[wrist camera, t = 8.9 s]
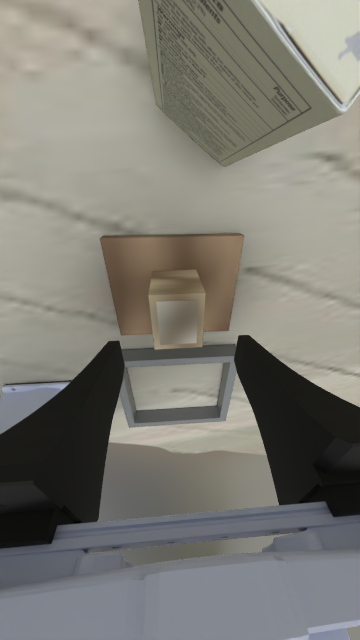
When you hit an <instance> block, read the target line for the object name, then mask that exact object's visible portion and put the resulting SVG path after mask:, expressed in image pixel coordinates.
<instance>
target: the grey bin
mask: <svg viewBox="0 0 360 640" xmlns="http://www.w3.org/2000/svg"><path fill="white" fill-rule="evenodd" d="M121 351H122V355H123V359H124V364H125V368H124V376H123V382H122V386H121V390H120V393H119V394H120V397H121V401H122V405H123V408H124V412H125V415H126V419H127V422H128V426H129V427H144V426H159V425H174V424H189V423H204V422H219V421H226V416H227V412H228V407H229V403H230V399H231V394H232V390H233V385H234V381H235V376H236V372H237V370H236V366H235V363H234V356H235V351H236V346H235V345H215V346H202V347H193V348H174V349H156V350H155V349H154V348H151V349H129V350H121ZM206 363H224V367H223V373H222V379H221V385H220V391H219V397H218V403H217V406H209V407H193V408H177V409H161V410H145V411H136V407H135V403H134V398H133V394H132V389H131V385H130V380H129V376H128V372H127V367H147V366H166V365H186V364H206Z"/></svg>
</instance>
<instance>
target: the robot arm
mask: <svg viewBox="0 0 360 640" xmlns="http://www.w3.org/2000/svg"><path fill="white" fill-rule="evenodd" d="M234 363H235V366H236V370H237V373H238V376H239V379H240V381H241V383H242V386H243V388H244V391H245V393H246V395H247V398H248V400H249V402H250V404H251V407H252V409H253V412H254V415H255V417H256V421H257V424H258V427H259V430H260V433H261V437H262V440H263V444H264V447H265V450H266V454H267V458H268V461H269V465H270V469H271V473H272V477H273V481H274V485H275V489H276V493H277V498H278V502H279V506H269V507H258V508H247V509H235V510H225V511H213V512H203V513H191V514H180V515H169V516H157V517H147V518H135V519H124V520H114V521H102V522H97V520H98V517H99V508H100V499H101V489H102V482H103V475H104V467H105V460H106V454H107V447H108V441H109V435H110V429H111V424H112V419H113V415H114V412H115V408H116V404H117V401H118V397H119V393H120V390H121V386H122V382H123V376H124V368H125V364H124V359H123V355H122V351H121V346H120V342H119V341H109V342H108V343H107V344H106V345H105V346H104V347H103V348H102V350H101V351H100V352H99V353H98V354H97V355H96V356H95V358H94V359H93V360H92V361H91V362H90V363H89V364H88V365H87V366H86V367H85V368H84V369H83V370H82V371H81V372H80V373H79V374H78V375H77V376H76V377H75V378H74V379H73V380H72V381H71V382H58V383H39V384H21V385H5V386H3V387H2V391H3V392H4V394H3V395H2V396H1V398H0V640H351V639H350V637H349V634H348V632H347V629H346V628H348V627H353V626H360V407H358V406H356V405H354V404H352V403H349V402H347V401H345V400H343V399H341V398H339V397H337V396H335V395H333V394H331V393H330V392H328V391H326V390H324V389H322V388H321V387H319V386H317V385H315V384H314V383H312V382H310V381H309V380H307V379H306V378H304V377H302V376H301V375H299V374H298V373H296V372H295V371H293V370H292V369H290V368H289V367H288V366H286V365H285V364H284V363H282V362H281V361H280V360H278V359H277V358H276V357H274V356H273V355H272V354H271V353H269V352H268V351H267V350H266V349H265V348H263V347H262V346H261V345H260V344H259V343H257V342H256V341H255V340H254V339H253V338H252V337H250V336H249V335H239V336H238V341H237V346H236V351H235V356H234ZM289 533H293V534H289ZM279 534H289V535H285V536H280V537H276V538H274V540H273V543H272V544H271V545H269V546H267V547H265V548H263V549H262V552H259V553H242V554H228V555H217V556H207V557H197V558H190V559H181V560H173V561H167V562H160V563H153V564H147V565H141V566H134V565H133V563H132V562H129V561H126V560H124V556H123V555H122V554H113V553H112V554H111V553H94V552H104V551H113V550H114V551H115V550H125V549H135V548H145V547H155V546H166V545H176V544H186V543H197V542H206V541H217V540H227V539H237V538H248V537H258V536H268V535H279Z"/></svg>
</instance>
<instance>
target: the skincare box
mask: <svg viewBox="0 0 360 640" xmlns="http://www.w3.org/2000/svg"><path fill="white" fill-rule="evenodd" d="M138 1H139V8H140V13H141V19H142V24H143V31H144V37H145V42H146V48H147V53H148V59H149V65H150V71H151V77H152V83H153V89H154V95H155V100H156V104H157V105H158V106H159V107H160V108H161V109H162V110H163V111H164V112H165V113H166V114H167V115H168V116H169V117H170V118H171V119H172V120H173V121H174V122H175V123H176V124H177V125H178V126H179V127H180V128H182V129H183V130H184V131H185V132H186V133H187V134H188V135H189V136H190V137H191V138H192V139H193V140H195V141H196V142H197V143H198V144H199V145H200V146H201V147H202V148H203V149H204V150H205V151H207V152H208V153H209V154H210V155H211V156H212V157H213V158H215V159H216V160H217V161H218V162H219V163H220V164H221V165H223V166H228V165H230V164H232V163H234V162H237V161H239V160H241V159H243V158H245V157H248V156H250V155H252V154H254V153H257V152H259V151H261V150H263V149H265V148H268V147H270V146H272V145H274V144H277V143H279V142H281V141H283V140H285V139H287V138H290V137H292V136H294V135H296V134H299V133H301V132H303V131H305V130H308V129H310V128H312V127H315V126H317V125H319V124H321V123H323V122H326V121H328V120H330V119H333V118H335V117H337V116H339V115H342V114H343V113H345V112H346V111H347V110H348V108H349V107H350V106H351V104H352V103H353V102H354V100H355V99H356V98H357V96H358V95H359V94H360V0H138Z"/></svg>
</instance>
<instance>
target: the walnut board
mask: <svg viewBox="0 0 360 640" xmlns="http://www.w3.org/2000/svg"><path fill="white" fill-rule="evenodd" d="M243 240H244V235H242V234H188V235H131V236H102V237H101V238H100V241H101V246H102V250H103V255H104V259H105V264H106V269H107V273H108V278H109V282H110V287H111V292H112V296H113V301H114V305H115V310H116V315H117V319H118V324H119V328H120V333H121V335H139V334H153V331H152V323H151V314H150V306H149V297H148V294H149V288H150V282H151V276H152V271H166V270H193V269H196V270H197V273H198V275H199V278H200V280H201V283H202V285H203V288H204V290H205V293H206V294H205V310H204V326H203V332H209V331H229V325H230V319H231V313H232V307H233V301H234V295H235V288H236V282H237V276H238V270H239V264H240V258H241V252H242V246H243Z"/></svg>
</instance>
